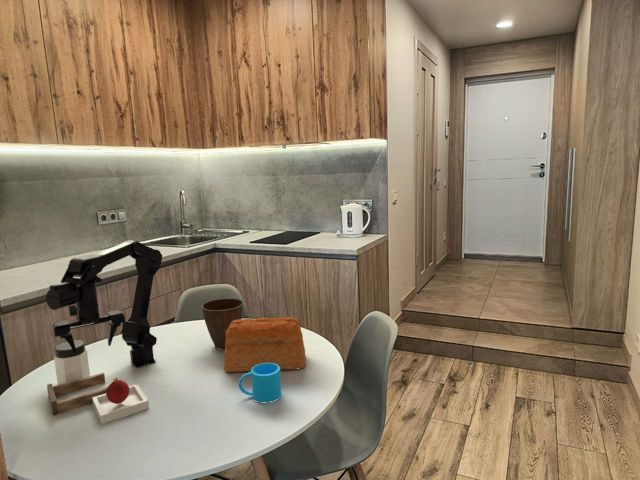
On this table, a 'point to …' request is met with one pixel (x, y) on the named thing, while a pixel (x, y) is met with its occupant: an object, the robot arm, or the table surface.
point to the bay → (73, 387)
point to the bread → (264, 344)
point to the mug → (264, 382)
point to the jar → (71, 362)
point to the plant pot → (221, 318)
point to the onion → (117, 391)
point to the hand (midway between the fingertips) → (92, 349)
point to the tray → (120, 405)
